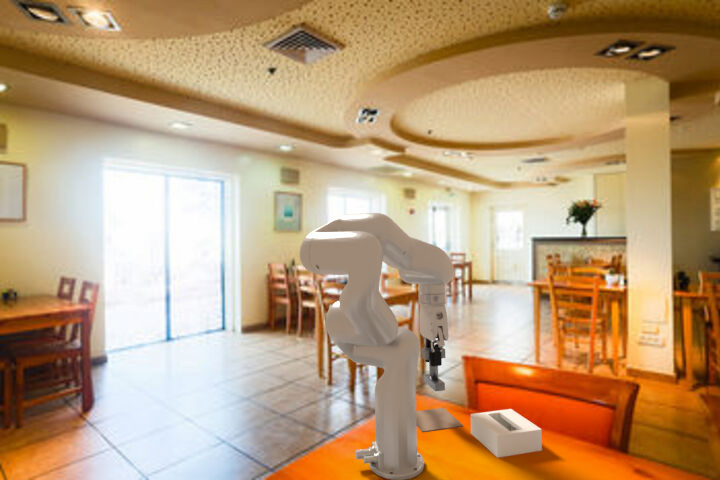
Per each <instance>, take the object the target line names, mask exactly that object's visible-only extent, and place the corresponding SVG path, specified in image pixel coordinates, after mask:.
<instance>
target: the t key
mask: <svg viewBox="0 0 720 480" xmlns="http://www.w3.org/2000/svg"><path fill="white" fill-rule="evenodd" d="M420 349H421V350H420V352H421V353H420V354H421V358H422V359H424V361H425V360H429V362H428V363H429V364H428V365H429V366H428V367H429V368H428V369H429V373H425V374H423V382H424V383H425V384H426V385H427V386H429V387H430V388H431V389H432V390H433V391H435V392H443V391H445V390H446V384H445V383H446V382H444V381H443V380H442V379H440V378H439V366H431V365H430V352H432V351H431V347H429V348H425V347H420ZM441 357H442V359H446V348H444V347H442V352H441Z"/></svg>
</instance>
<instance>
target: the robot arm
mask: <svg viewBox="0 0 720 480" xmlns="http://www.w3.org/2000/svg"><path fill="white" fill-rule="evenodd" d="M299 260H300V262H301V263H300V264H302V266H303V268H305V270H306V271H308V272H309V273H312V274H315V275H327V276H328V275H331V276H333V275H334V276H348V278H347V281H346V284H345V286H344V287H343V289H342V291H341V293H340V296H339V298H338V299H339V300H337V301H335V302H334V303H332V304H331V306H330V307H329V309H328V311H327V312H326V313H327V314H326V318H325V326H326V332H327V334H328V337H329V338H330V340H331V341H332V343H334V345H336V347H337V348H338V349H340V350H341V352H342V353H343V354H344V355H345V356H346V357H347V358H348V359H350V360H351V361H352V362H353V363H356V364H361V365H365V366H370V367H377V368H380V369H382V370H383V373H382V375H381V376H380V377H379V379H378V380H377V381H376V383H375V386H374V423H375V424H374V426H375V429H374V431H375V432H374V434H375V441H371V446H369V447H368V448H364V449H355V452H354V454H355V455H354V456H355V459H356V460H363V464H368V465H369V469H371V471H372V472H373V474H376V475H377V476H378V477H382V478H384V479H387V480H410V479H412V478H415V477H417V476H418V475H420V474H421V473H422V472H423V470H424V468H425V460H424V457H423V456H422V454H421V453H420V452H418V437H417V436H418V433H417V431H418V430H417V428H418V426H417V420H416V411H417V371H418V364H419V363H418V362H419V356H420V352H421V350H420V349H421V346H420V345H421V343H420V338H419V337H418V336H417V334H416V333H415V332H413V331H412V330H410V329H409V328H405V327H401V326H399V323H398V318H397V317H396V316H395V313H394V311H393V310H392V309H391V307H390V305H389V304H388V303H387V302H386V300H385V299H384V297H383V296H382V294H381V292H380V284H381V283H380V281H381V276H382V275H381V274H382V269H383V268H382V267H383V263H384V264H385V265H387V266H388V267H390V268H393V269H396V270H398V276H399V277H400V279H401V280H402V281H403V282H404V283H407V284H412V285H417V286H418V288H417V289H418V290H417V291H418V305H419V334H420V335H421V336H422V338H423V348H429V347H431V351H432V352H430V365H431V366H438V367H440V366H442V365H443V364H442V361H443V360H442V359H443V358H442V357H441V352H442V348H444V347H445V346H446V344H445V343H446V342H445V341H448V340H449V324H448V323H449V322H448V313H447V308H446V285H447V284H449V283H451V281H452V280H453V277H454V272H455V271H454V264H453V262H452V259H451V258H450V256H449V254H447V253H446V251H444V250H443V248H440V247H438V246H436V245H434V244H432V243H428V242H425V241H423V240H421V239H417V238H414V237H411V236H409V235H408V233H406V232H405V231H404V230H403V229H402V228H401V227H400V226H399V224H397V223H396V222H395V221H394V220H393V219H392V218H391V217H389V216H388V215H386V214H385V213H380V212H379V213H378V212H369V213H368V212H367V213H366V212H365V213H351V214H344V215H340V216H339V217H336V218H334V219H332V220H331V221H329V222H328V223H325V224H323V225H322V226H320V227H318V228H316V229H314V230H313V231H310V233H308V234H307V235H306V237H304V239H303V240H302V242H301V245H300V248H299ZM424 362H425V363H429V360H425V359H424Z"/></svg>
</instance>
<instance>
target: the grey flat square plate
mask: <svg viewBox="0 0 720 480" xmlns="http://www.w3.org/2000/svg"><path fill="white" fill-rule="evenodd" d="M416 420H417V428H418V429H419V430H420V432H421V433H424V432H425V433H427V432H432V431H441V430H447V429H455V428H462V427H464V424H463V423H462V422H460V421H459V420H458V419H457V418H456V417H455V416H454V415H453V414H452V413H450V412H449V411H448V410H447V409H446V408H445V407H439V408H431V409H430V408H429V409H422V410H416Z"/></svg>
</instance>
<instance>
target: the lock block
mask: <svg viewBox="0 0 720 480" xmlns="http://www.w3.org/2000/svg"><path fill="white" fill-rule="evenodd" d="M542 433H543V432H542V428H540V427H539V426H537V425H536V424H534V423H533V422H531V421H530V420H528V419H527V418H525V417H524V416H522V415H521V414H519V413H518V412H517V411H515V410H514V409H512V408H508V409H507V408H505V409H499V410H492V411H491V410H490V411H484V412H477V413H476V412H475V413H470V434H471V435H472V436H473V437H474V438H476V440H478V442H480V443H481V444H482V445H483V446H484V447H485V448H486V449H487V450H488V451H490V453H491V454H493V455H494V456H495V457H496V458H505V457H509V456H516V455H522V454H528V453H534V452H541V451H543V444H542V443H543V441H542V440H543V439H542V438H543V435H542Z"/></svg>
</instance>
